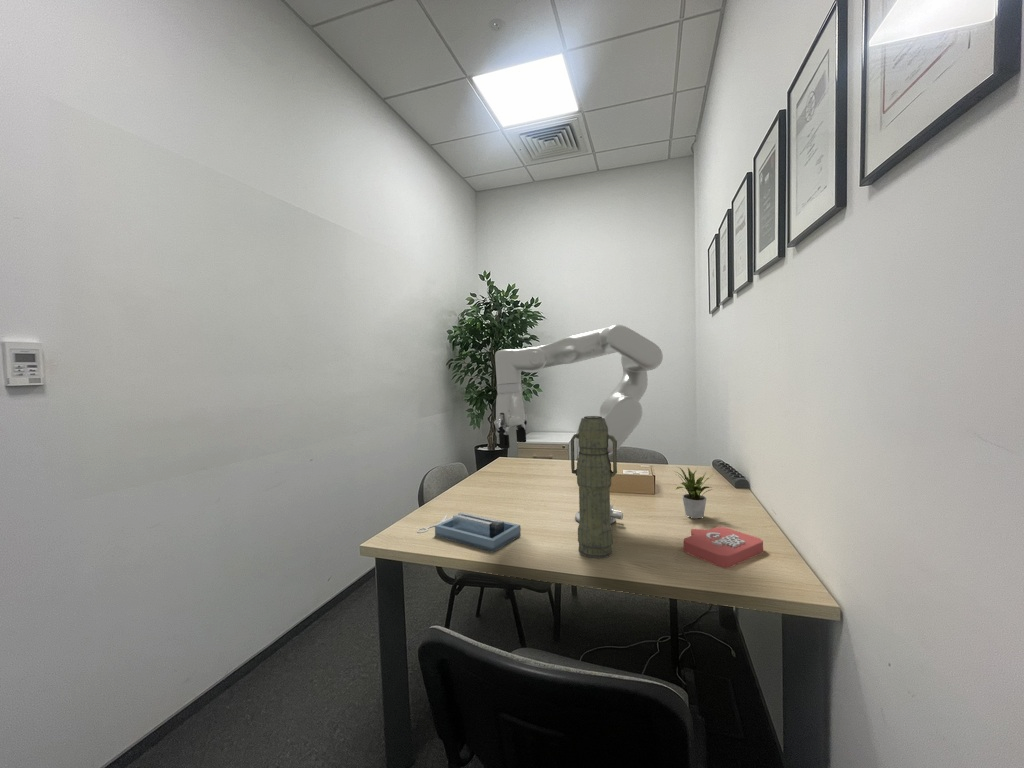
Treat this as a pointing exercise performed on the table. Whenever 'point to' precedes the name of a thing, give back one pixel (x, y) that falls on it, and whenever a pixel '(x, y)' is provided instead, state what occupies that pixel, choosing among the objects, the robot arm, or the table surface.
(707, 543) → the plaque
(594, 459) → the thermos
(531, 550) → the table surface
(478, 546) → the tray
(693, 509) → the house plant
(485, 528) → the two-tone rectangular block
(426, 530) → the scissors
